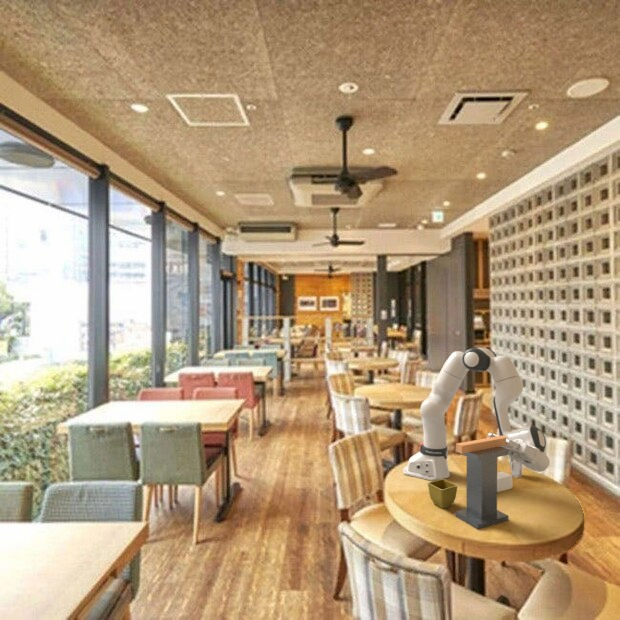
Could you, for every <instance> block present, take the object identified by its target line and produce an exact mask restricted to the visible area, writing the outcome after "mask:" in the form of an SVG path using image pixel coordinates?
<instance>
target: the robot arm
mask: <svg viewBox="0 0 620 620" xmlns="http://www.w3.org/2000/svg"><path fill="white" fill-rule="evenodd" d="M469 370H470V371H471V372H488V373H489V374H490V376H491V379H492V380H493V383H494V386H495V396H494V397H493V408H494V413H495V418H496V423H497V428H498V432H499V433H498V434H499V435H498V434H494V433H492V432H488V434H487V437H486V438H491V437H496V436H505V437H508V439H507V441H506V443H507V444H508V445H504V446H500V447H503V448H506V449H508V450H509V456H510V457H511V458H512V459H514V460H515V461H517V462H519V463H521V464H523V467H526V468H527V469H528V470H531V471H533V472H536V473H541V472H544V471H546V470H547V469H548V468H549V466H550V458H549V456H548V455H547V453H546V451H545V450H546V444H547V441H546V436H545V434H544V432H543V431H542V430H541V429H540V428H539V427H537V426H535V425H528V426H523V427H521V428H516V429H512V427H511V426H512V425H511V422H510V419H509V418H510V417H509V412H508V411H509V409H510V408H509V407H510V406H511V405H512V403H514V402H515V401H516V400H517V399H518V398H519V397H520V396H521V395H522V392H523V391H524V385H523V382H522V380H521V377H520V375H519V372H518V369H517V367H516V366H515V364H514V363H513V361H512V359H511V358H510V357H509V356H508V355H496V353H495V351H493V350H492V349H490V348H488V347H487V348H486V347H481V346H480V347H471V348H468V349H467V350H465V351H459V350H457V351H456V350H455V351H453V352H452V353H450V355H449V357H448V358H447V359H446V361H445V362H444V364H443V366H442V367H441V370H440V371H439V373H438V375H437V377H436V379H435V381H434V384H433V387H432V389H431V391H430V393H429V395H428V396H427V397H426V398H425V399H424V400H423V401H422V402H421V405H420V409H419V411H420V416H421V423H422V430H423V439H422V441H423V442H420V444H419V449H418V450H419V451H417V453H415V454H413V455H412V456H410V457H409V458H408V459H409V460H408V462H407V465H405V466H404V467H403V469H402V473H403V475H406V476H411V477H414V478H418V479H423V480H427V481H430V482H433V481H437V480H440V479H444V480H446V479H448V478H449V477H451V473H450V470H449V465H448V456H449V453H448V452H449V450H448V444H447V439H448V438H447V433H448V432H447V427H446V422H445V414H446V413H448V410H449V409H450V406H451V404H452V402H453V400H454V398H455V396H456V393H457V392H458V390H459V388H460V386H461V384H462V383H463V381H464V378H465V377H466V375H467V373H468V372H469ZM509 456H508V457H509Z"/></svg>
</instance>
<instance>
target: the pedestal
mask: <svg viewBox="0 0 620 620" xmlns="http://www.w3.org/2000/svg"><path fill="white" fill-rule="evenodd" d="M454 447H455V449H454V451H455V453H457V454H460V455H462V456H465V457H466V502H465V503H466V504H465V505H466V508H462V509H460V510H455V512H454V516H455V517H456V518H457V519H459V520H461V521H463V523H464V522H465V523H466V524H467V525H469V526H471V527H473V528H474V529H476V530H481V529H484V528H488V527H492V526H496V525H499V524H502V523H505V522H509V518H510V517H509V515H508V514H506V513H504V512H502V511H500V510H498V492H497V472H498V458H499V457H505V456H507V455H509V450H508V449H506V448H503V447H500V446H499V447H494V448H489V449H483V450H478V451H473V452H468V453H459V452H457V451H456V446H454Z"/></svg>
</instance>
